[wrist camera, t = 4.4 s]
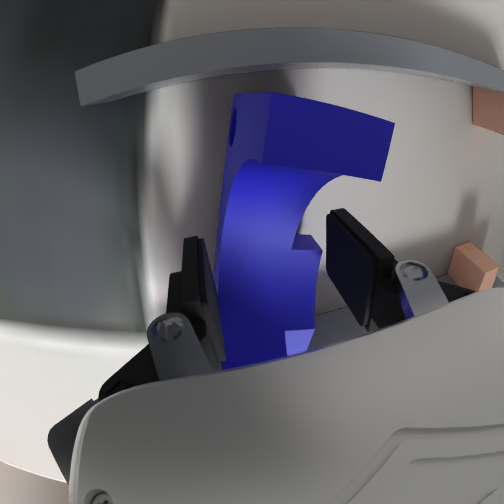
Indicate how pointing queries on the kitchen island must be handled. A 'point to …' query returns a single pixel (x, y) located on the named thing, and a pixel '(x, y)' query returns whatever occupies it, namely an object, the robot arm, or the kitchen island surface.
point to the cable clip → (281, 215)
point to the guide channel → (309, 56)
